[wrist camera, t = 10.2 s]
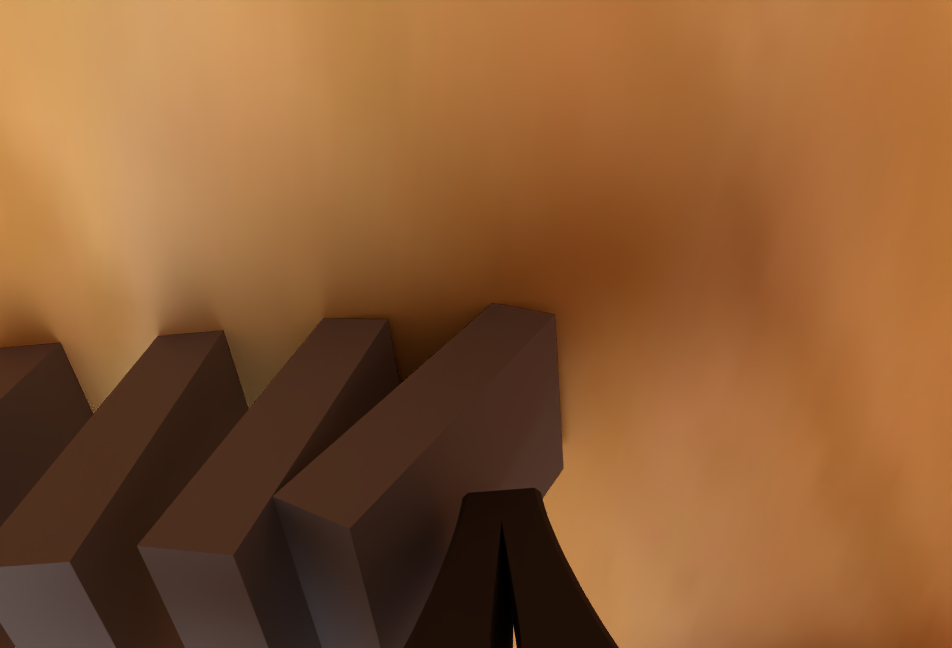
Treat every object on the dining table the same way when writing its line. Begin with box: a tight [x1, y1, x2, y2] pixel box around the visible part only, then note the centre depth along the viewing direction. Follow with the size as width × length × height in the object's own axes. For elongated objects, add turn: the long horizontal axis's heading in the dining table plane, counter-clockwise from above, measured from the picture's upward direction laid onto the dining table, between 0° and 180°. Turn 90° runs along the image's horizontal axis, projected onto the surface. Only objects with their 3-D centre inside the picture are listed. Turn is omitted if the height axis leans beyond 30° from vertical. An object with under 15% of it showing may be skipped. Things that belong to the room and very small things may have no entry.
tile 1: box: [272, 303, 563, 648], centre depth 14 cm, size 2×4×7 cm, turn 6°
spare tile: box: [0, 331, 248, 648], centre depth 14 cm, size 2×4×7 cm, turn 6°
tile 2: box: [137, 319, 400, 648], centre depth 14 cm, size 2×4×7 cm, turn 7°
